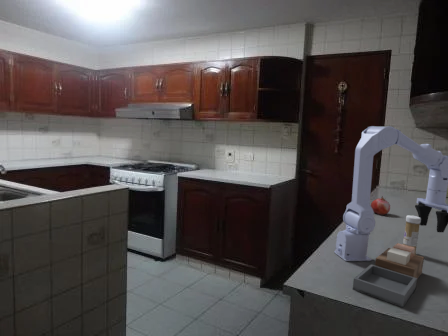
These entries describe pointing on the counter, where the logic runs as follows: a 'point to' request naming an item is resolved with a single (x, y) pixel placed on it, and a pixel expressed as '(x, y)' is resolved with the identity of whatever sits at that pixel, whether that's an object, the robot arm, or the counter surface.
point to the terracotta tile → (405, 249)
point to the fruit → (380, 206)
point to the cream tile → (398, 256)
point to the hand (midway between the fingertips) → (431, 228)
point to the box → (385, 284)
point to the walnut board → (401, 265)
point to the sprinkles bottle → (411, 231)
